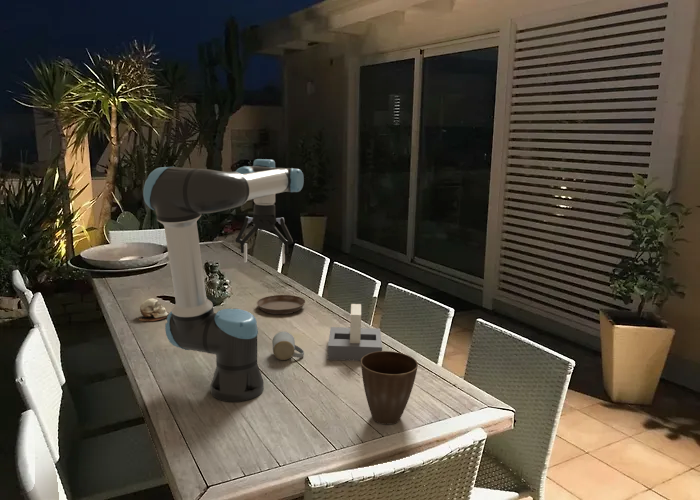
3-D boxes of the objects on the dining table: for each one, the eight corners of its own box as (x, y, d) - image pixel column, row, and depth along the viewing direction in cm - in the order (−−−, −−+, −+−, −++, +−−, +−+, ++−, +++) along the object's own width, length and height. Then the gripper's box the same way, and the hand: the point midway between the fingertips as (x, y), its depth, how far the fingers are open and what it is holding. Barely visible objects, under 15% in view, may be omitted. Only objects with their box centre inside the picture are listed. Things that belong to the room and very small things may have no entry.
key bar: (360, 343, 186) (361, 315, 184) (349, 343, 186) (350, 314, 184) (360, 330, 198) (361, 304, 196) (350, 330, 198) (351, 303, 196)
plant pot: (410, 404, 155) (413, 351, 152) (418, 432, 141) (422, 374, 137) (357, 403, 155) (359, 350, 151) (360, 432, 140) (362, 373, 137)
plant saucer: (248, 313, 229) (248, 306, 228) (267, 299, 248) (267, 292, 248) (296, 318, 224) (296, 311, 223) (311, 304, 244) (311, 296, 243)
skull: (175, 309, 227) (168, 297, 219) (168, 332, 221) (161, 320, 213) (146, 307, 228) (139, 294, 219) (138, 329, 222) (130, 317, 213)
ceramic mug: (272, 361, 181) (273, 339, 180) (272, 352, 189) (272, 331, 188) (304, 361, 183) (305, 339, 181) (303, 351, 191) (303, 330, 189)
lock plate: (381, 361, 184) (382, 347, 183) (327, 359, 184) (327, 345, 183) (379, 341, 202) (380, 328, 201) (330, 339, 202) (330, 326, 201)
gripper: (300, 203, 198) (299, 260, 202) (230, 201, 197) (231, 259, 202) (299, 205, 191) (298, 265, 195) (226, 203, 190) (227, 263, 194)
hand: (264, 262), depth 198 cm, fingers open, 13 cm apart
